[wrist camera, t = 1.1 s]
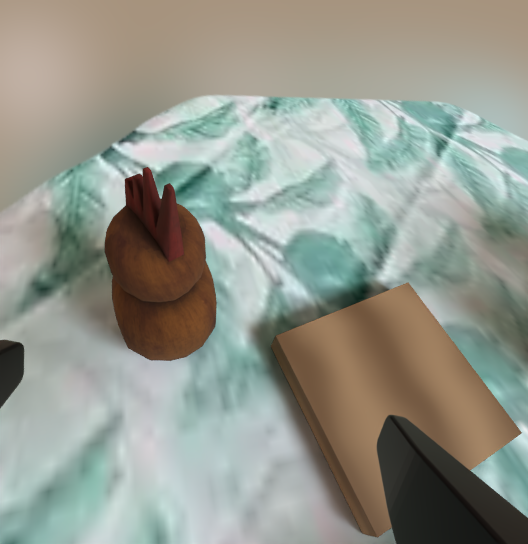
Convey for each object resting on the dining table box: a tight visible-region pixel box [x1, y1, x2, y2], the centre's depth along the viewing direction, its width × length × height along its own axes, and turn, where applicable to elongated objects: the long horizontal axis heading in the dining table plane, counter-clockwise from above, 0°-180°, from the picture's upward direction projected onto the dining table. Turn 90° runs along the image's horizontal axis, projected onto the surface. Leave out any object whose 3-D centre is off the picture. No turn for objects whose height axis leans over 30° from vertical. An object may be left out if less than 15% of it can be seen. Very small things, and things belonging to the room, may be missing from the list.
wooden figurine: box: [105, 167, 216, 361], centre depth 18 cm, size 7×6×15 cm
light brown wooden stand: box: [271, 283, 522, 537], centre depth 23 cm, size 12×12×2 cm
